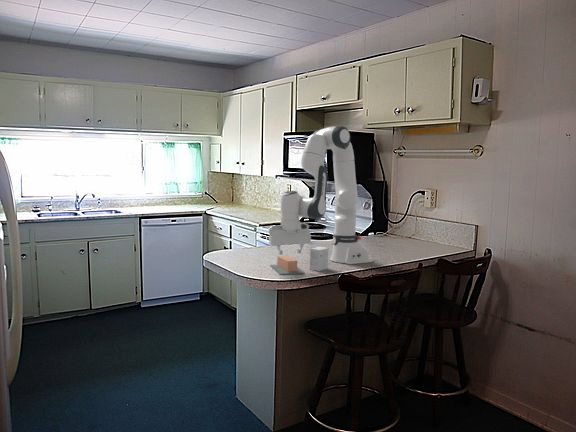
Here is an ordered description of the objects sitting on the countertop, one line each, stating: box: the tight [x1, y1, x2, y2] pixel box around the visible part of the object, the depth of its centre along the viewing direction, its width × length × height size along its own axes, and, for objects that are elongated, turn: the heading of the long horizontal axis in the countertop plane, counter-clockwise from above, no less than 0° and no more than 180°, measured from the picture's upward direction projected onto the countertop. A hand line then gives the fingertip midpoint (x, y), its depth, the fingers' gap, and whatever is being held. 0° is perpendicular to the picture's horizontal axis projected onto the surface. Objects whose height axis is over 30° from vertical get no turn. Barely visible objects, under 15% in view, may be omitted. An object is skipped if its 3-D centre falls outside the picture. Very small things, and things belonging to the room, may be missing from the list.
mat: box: [269, 264, 306, 276], centre depth 236 cm, size 12×18×1 cm, turn 17°
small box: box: [309, 246, 329, 272], centre depth 239 cm, size 8×6×10 cm
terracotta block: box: [276, 255, 298, 272], centre depth 236 cm, size 5×5×12 cm
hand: (290, 253), depth 234 cm, fingers open, 8 cm apart
